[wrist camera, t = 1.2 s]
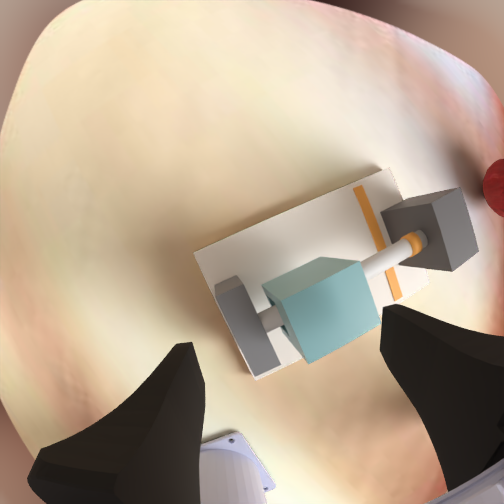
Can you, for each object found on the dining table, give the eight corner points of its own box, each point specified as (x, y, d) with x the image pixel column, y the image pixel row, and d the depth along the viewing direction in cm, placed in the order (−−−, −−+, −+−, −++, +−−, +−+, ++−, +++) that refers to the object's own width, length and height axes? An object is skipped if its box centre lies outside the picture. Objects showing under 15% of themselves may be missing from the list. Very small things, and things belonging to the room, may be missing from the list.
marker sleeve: (282, 332, 18) (308, 364, 13) (261, 284, 18) (280, 300, 13) (339, 303, 19) (381, 323, 14) (320, 256, 19) (359, 260, 13)
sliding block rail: (253, 375, 22) (270, 426, 15) (193, 252, 21) (184, 256, 14) (427, 279, 23) (486, 288, 16) (387, 168, 23) (443, 145, 16)
